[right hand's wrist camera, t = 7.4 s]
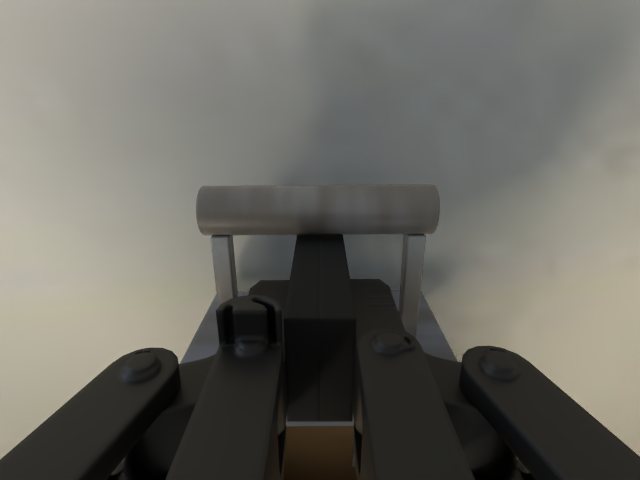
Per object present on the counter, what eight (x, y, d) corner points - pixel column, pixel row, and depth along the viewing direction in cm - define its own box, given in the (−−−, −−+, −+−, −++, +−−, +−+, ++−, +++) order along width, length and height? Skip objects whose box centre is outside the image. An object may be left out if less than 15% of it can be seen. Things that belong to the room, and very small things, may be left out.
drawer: (203, 168, 15) (128, 214, 9) (432, 167, 15) (505, 212, 9) (248, 574, 24) (225, 732, 18) (393, 574, 24) (418, 731, 18)
